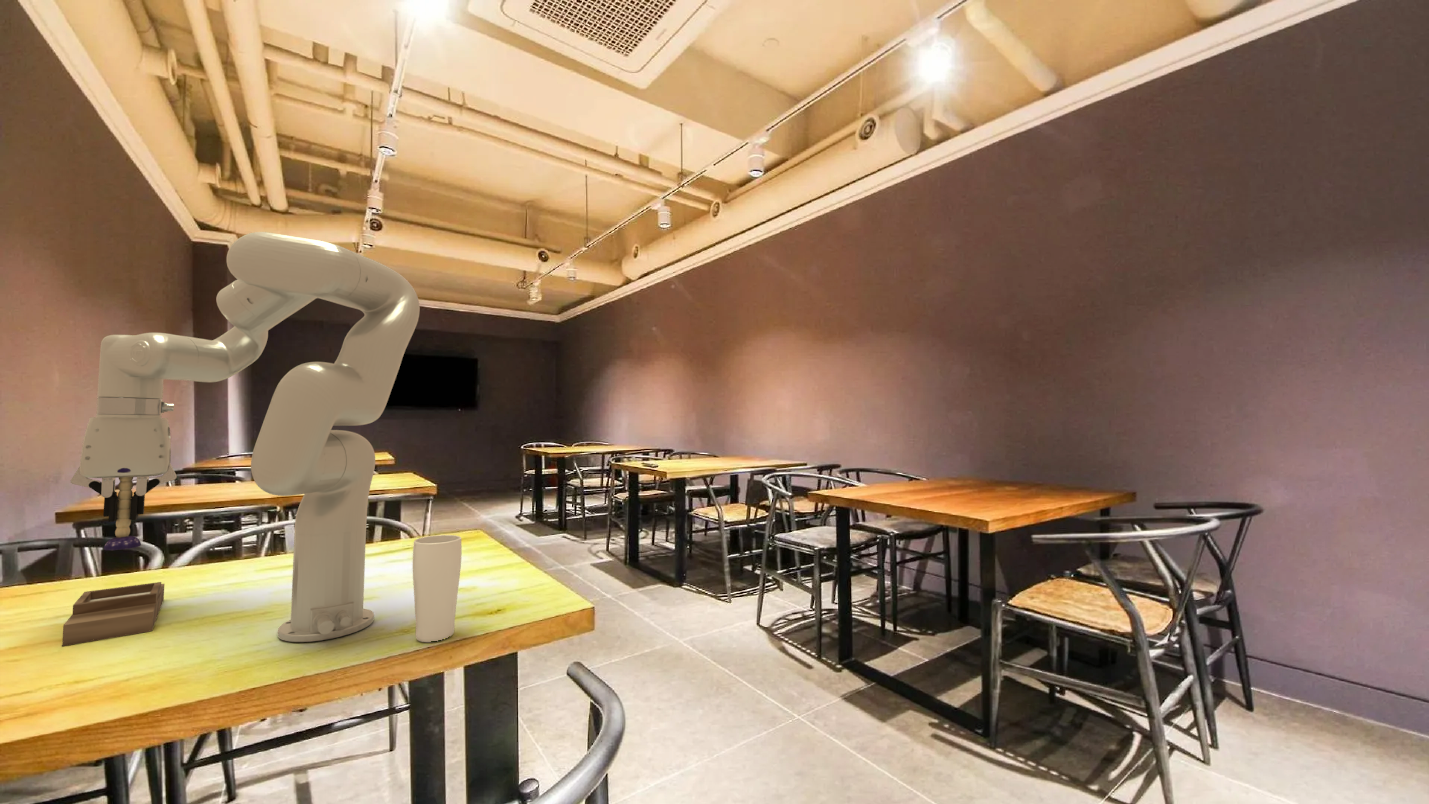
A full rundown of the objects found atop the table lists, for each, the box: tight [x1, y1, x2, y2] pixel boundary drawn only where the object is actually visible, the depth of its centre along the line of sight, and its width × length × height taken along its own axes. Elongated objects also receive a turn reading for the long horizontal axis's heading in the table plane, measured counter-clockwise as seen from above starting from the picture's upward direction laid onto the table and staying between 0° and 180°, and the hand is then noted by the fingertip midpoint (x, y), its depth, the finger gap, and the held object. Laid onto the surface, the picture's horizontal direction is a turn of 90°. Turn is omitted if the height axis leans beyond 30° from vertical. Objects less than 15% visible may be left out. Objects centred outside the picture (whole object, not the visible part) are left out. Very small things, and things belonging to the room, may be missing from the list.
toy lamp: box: [103, 468, 142, 551], centre depth 91 cm, size 5×5×17 cm
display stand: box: [61, 581, 165, 647], centre depth 91 cm, size 20×9×4 cm, turn 42°
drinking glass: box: [412, 534, 462, 643], centre depth 85 cm, size 7×7×15 cm
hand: (123, 519), depth 91 cm, fingers closed on toy lamp
